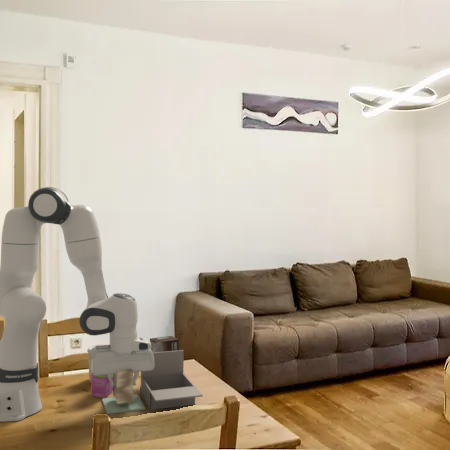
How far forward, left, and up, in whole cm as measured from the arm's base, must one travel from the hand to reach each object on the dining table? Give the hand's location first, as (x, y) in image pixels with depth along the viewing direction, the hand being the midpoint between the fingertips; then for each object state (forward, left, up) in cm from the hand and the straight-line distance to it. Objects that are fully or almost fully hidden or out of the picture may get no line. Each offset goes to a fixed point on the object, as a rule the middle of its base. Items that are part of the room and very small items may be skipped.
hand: (123, 385), depth 177 cm
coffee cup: (-4, +27, -7) cm, 28 cm away
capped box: (0, 0, -4) cm, 4 cm away
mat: (0, 0, -6) cm, 6 cm away
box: (-4, +14, -7) cm, 16 cm away
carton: (+15, -3, -6) cm, 17 cm away
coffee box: (+18, +18, -7) cm, 26 cm away
